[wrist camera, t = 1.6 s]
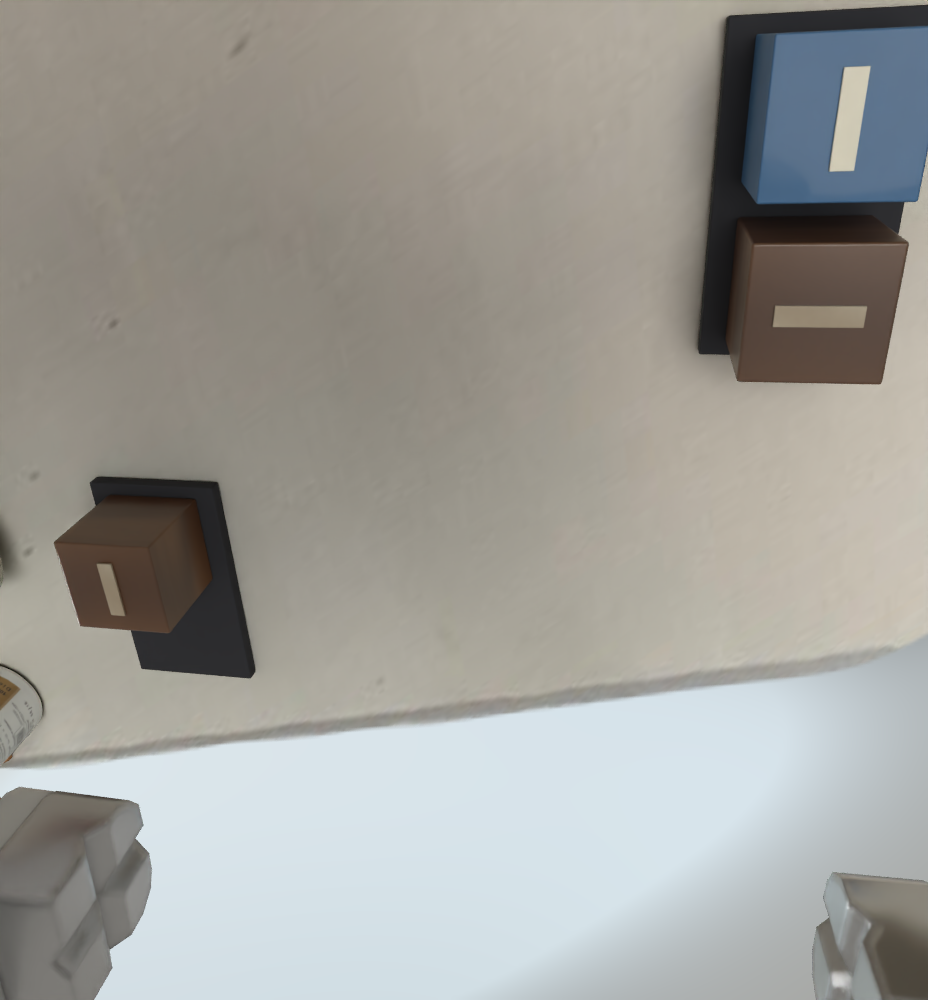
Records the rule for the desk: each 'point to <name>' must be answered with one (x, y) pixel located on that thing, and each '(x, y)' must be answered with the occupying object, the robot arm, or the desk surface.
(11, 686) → the pill bottle
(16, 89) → the desk surface
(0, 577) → the decorative stone
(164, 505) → the tile
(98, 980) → the robot arm
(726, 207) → the mat
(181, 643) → the mat
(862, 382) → the brown cube
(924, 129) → the blue cube
